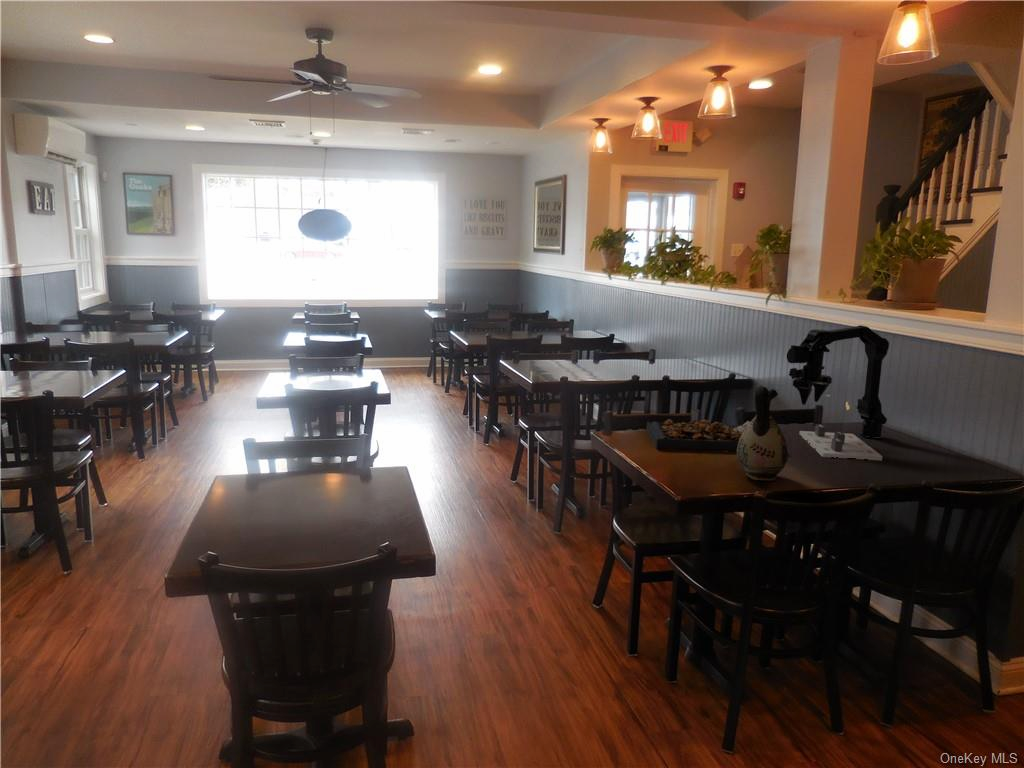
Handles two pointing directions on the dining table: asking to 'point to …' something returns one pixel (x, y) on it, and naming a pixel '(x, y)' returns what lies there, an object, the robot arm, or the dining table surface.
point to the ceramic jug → (762, 441)
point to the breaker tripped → (839, 436)
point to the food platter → (695, 435)
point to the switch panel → (849, 449)
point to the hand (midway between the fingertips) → (809, 403)
